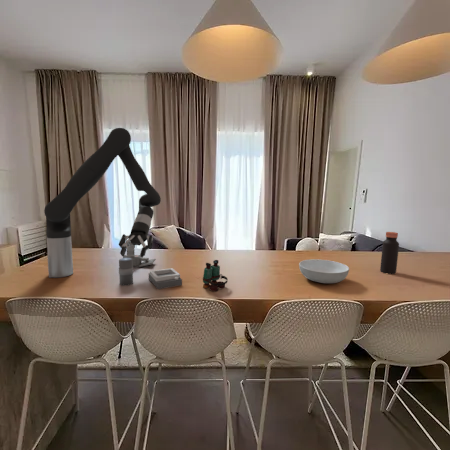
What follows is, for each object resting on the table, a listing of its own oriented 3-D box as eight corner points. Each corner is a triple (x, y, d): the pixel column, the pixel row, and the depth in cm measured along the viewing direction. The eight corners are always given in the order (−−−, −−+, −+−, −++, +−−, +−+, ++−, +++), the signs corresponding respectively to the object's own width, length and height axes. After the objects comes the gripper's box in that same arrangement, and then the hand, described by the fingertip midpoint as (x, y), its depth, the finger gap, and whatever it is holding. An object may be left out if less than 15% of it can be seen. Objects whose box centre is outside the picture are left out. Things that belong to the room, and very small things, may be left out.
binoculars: (219, 269, 100) (200, 262, 106) (216, 295, 102) (198, 287, 108) (234, 264, 107) (215, 257, 113) (231, 289, 109) (213, 281, 115)
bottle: (396, 271, 135) (400, 232, 132) (395, 275, 129) (400, 234, 126) (380, 269, 138) (384, 231, 136) (379, 272, 133) (383, 232, 130)
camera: (126, 241, 140) (155, 241, 141) (126, 263, 142) (155, 263, 142) (120, 244, 132) (151, 245, 132) (121, 267, 133) (151, 268, 134)
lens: (120, 286, 108) (119, 261, 106) (118, 282, 112) (117, 258, 111) (134, 284, 110) (134, 259, 109) (132, 280, 115) (131, 256, 114)
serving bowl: (289, 275, 126) (289, 261, 125) (325, 271, 134) (326, 257, 133) (319, 291, 107) (320, 274, 106) (359, 285, 114) (360, 269, 113)
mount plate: (157, 289, 105) (157, 279, 105) (148, 278, 117) (148, 269, 117) (181, 285, 110) (181, 275, 110) (170, 275, 122) (170, 266, 122)
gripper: (124, 220, 123) (112, 250, 113) (154, 221, 122) (145, 251, 112) (129, 230, 129) (119, 259, 119) (158, 231, 128) (150, 261, 118)
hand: (131, 255), depth 116 cm, fingers open, 8 cm apart
